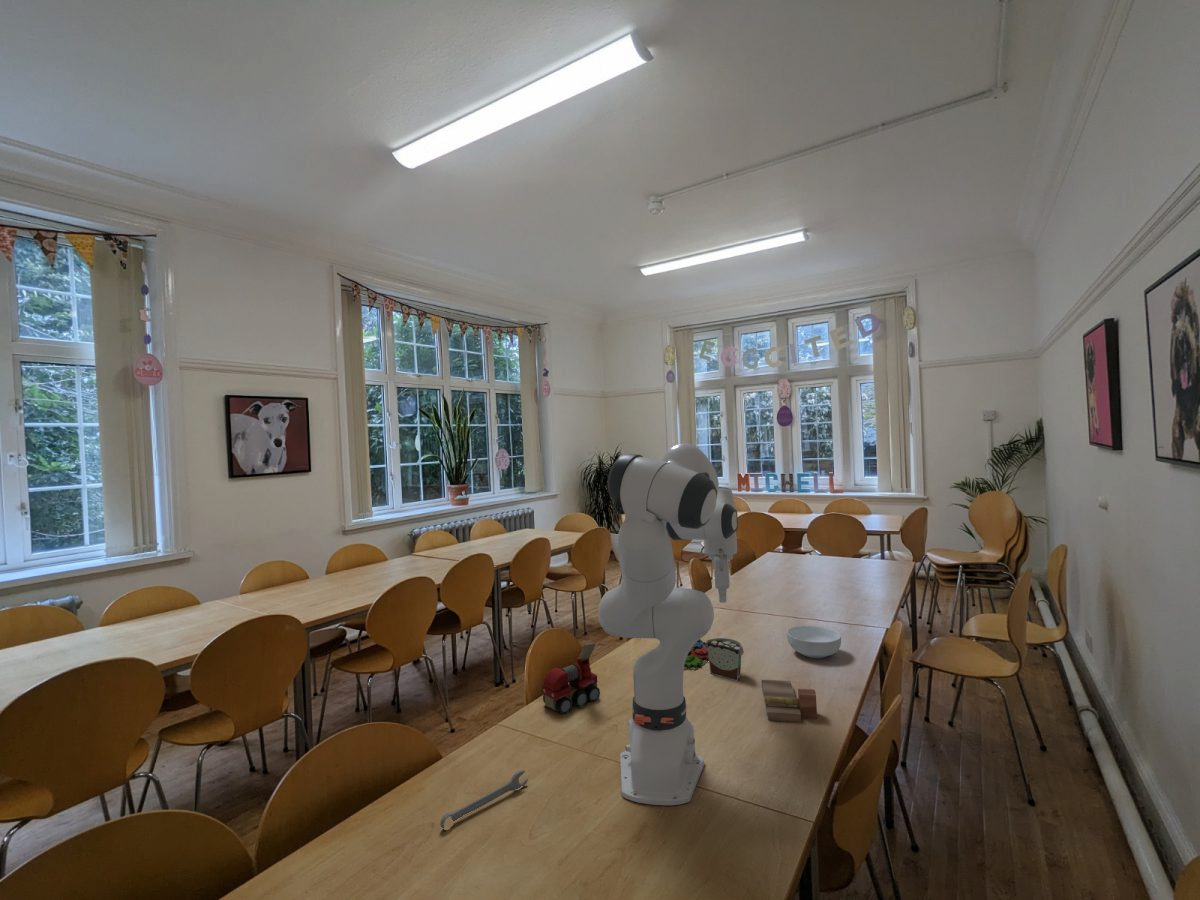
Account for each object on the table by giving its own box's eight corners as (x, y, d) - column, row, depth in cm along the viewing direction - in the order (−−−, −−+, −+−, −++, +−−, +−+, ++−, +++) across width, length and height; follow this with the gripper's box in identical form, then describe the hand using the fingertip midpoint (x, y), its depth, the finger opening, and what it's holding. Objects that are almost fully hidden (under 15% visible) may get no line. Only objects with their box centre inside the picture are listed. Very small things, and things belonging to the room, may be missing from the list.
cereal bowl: (826, 668, 171) (825, 645, 171) (778, 655, 183) (777, 633, 183) (851, 653, 182) (850, 631, 182) (804, 641, 195) (803, 621, 195)
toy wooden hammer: (817, 719, 140) (816, 695, 140) (765, 715, 143) (764, 692, 143) (815, 712, 144) (814, 689, 144) (764, 709, 147) (763, 686, 147)
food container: (752, 675, 168) (750, 642, 168) (742, 682, 163) (740, 648, 163) (716, 666, 176) (715, 634, 176) (706, 672, 172) (705, 640, 172)
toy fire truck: (540, 706, 154) (537, 643, 154) (584, 689, 164) (582, 630, 164) (564, 721, 145) (561, 654, 145) (609, 702, 155) (606, 639, 155)
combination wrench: (441, 817, 104) (529, 769, 117) (438, 814, 105) (525, 767, 118) (443, 837, 104) (530, 786, 117) (439, 833, 105) (526, 784, 118)
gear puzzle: (679, 683, 166) (679, 669, 166) (636, 671, 177) (636, 658, 177) (729, 651, 190) (728, 639, 190) (688, 642, 200) (688, 631, 200)
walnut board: (801, 722, 139) (800, 713, 139) (768, 720, 141) (767, 712, 141) (790, 687, 159) (790, 680, 159) (761, 686, 160) (761, 679, 160)
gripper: (733, 553, 140) (736, 608, 140) (731, 539, 160) (733, 587, 160) (708, 553, 141) (710, 607, 141) (708, 540, 161) (711, 587, 161)
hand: (722, 597), depth 150 cm, fingers open, 8 cm apart
